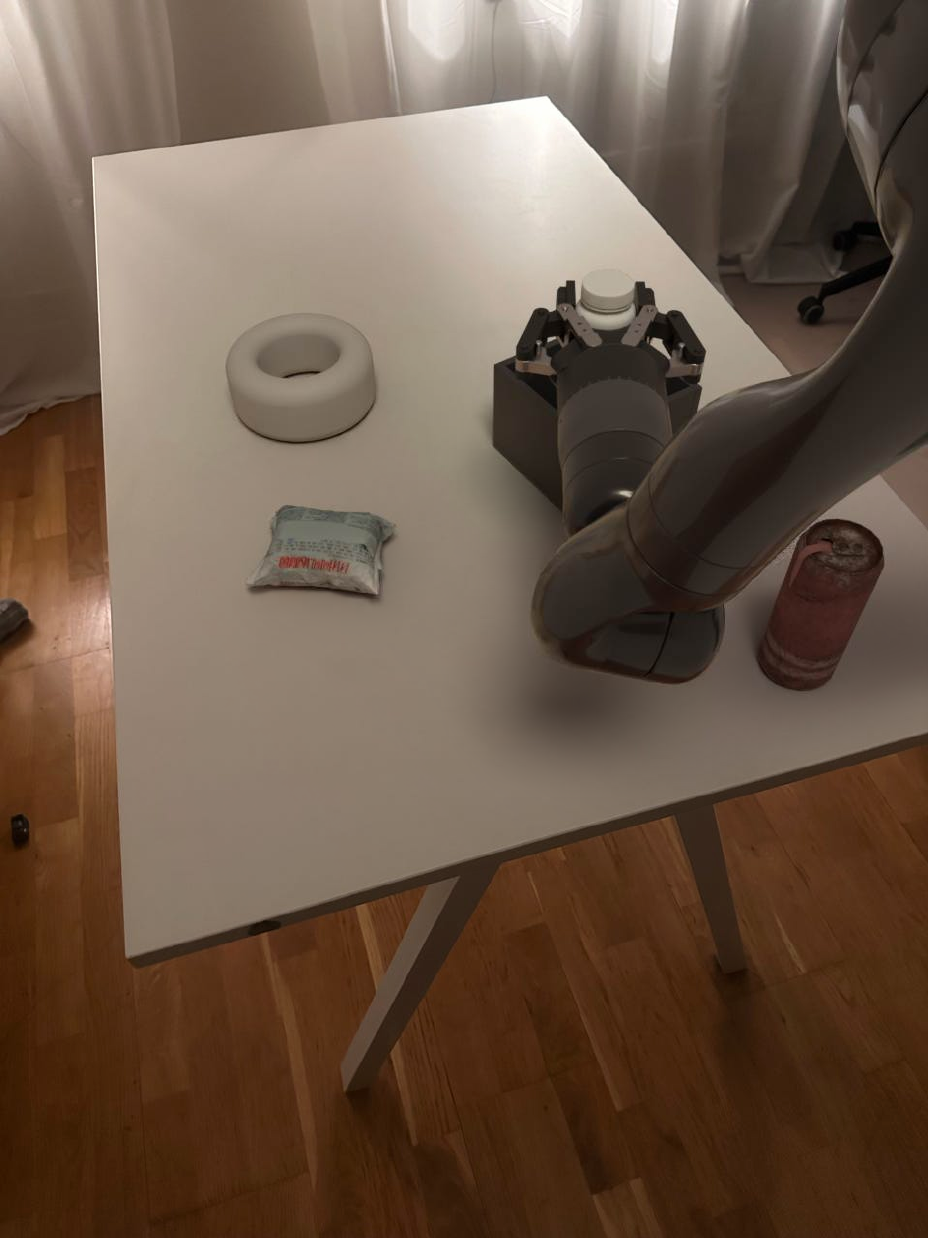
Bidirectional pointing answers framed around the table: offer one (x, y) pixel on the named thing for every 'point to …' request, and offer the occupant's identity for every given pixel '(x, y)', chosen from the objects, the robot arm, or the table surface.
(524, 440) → the trash bin
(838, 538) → the can
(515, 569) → the table surface
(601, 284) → the pill bottle
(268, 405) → the donut shape
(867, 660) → the table surface
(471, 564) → the table surface
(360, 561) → the packaged food
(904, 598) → the table surface
